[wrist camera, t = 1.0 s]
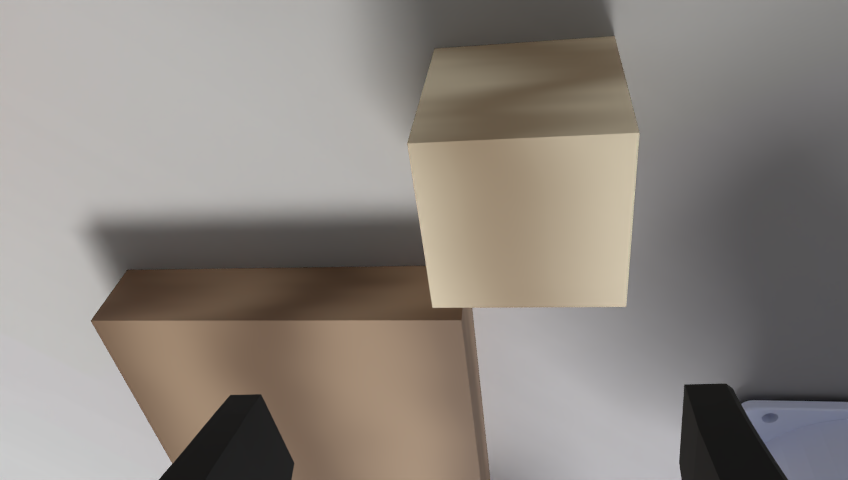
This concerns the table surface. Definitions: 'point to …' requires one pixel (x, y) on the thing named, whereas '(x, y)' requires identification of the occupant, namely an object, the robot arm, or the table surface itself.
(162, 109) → the table surface
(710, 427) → the robot arm
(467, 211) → the maple cube
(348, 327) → the walnut block
